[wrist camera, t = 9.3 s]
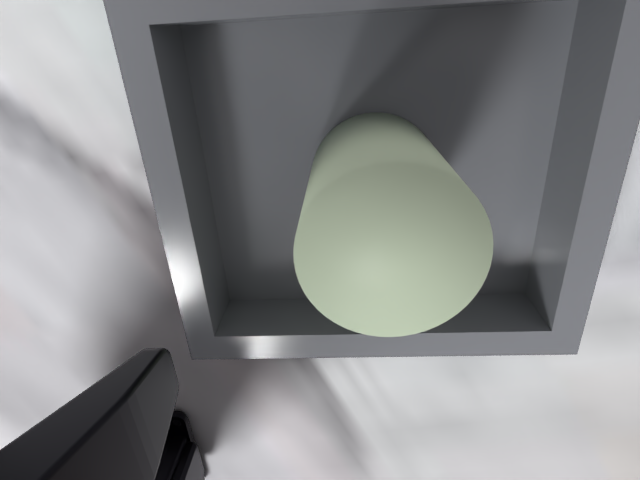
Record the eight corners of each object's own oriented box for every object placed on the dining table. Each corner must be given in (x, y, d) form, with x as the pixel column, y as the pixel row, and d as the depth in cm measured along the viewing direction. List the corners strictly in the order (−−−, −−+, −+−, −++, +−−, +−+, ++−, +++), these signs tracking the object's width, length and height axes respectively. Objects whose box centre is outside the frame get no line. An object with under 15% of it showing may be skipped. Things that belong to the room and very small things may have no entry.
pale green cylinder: (315, 234, 18) (301, 338, 12) (307, 115, 16) (283, 166, 10) (432, 230, 18) (481, 335, 12) (440, 108, 16) (505, 155, 9)
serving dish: (213, 311, 21) (191, 359, 18) (148, -9, 15) (98, -20, 12) (540, 304, 20) (577, 354, 17) (611, -43, 14) (688, -65, 11)
